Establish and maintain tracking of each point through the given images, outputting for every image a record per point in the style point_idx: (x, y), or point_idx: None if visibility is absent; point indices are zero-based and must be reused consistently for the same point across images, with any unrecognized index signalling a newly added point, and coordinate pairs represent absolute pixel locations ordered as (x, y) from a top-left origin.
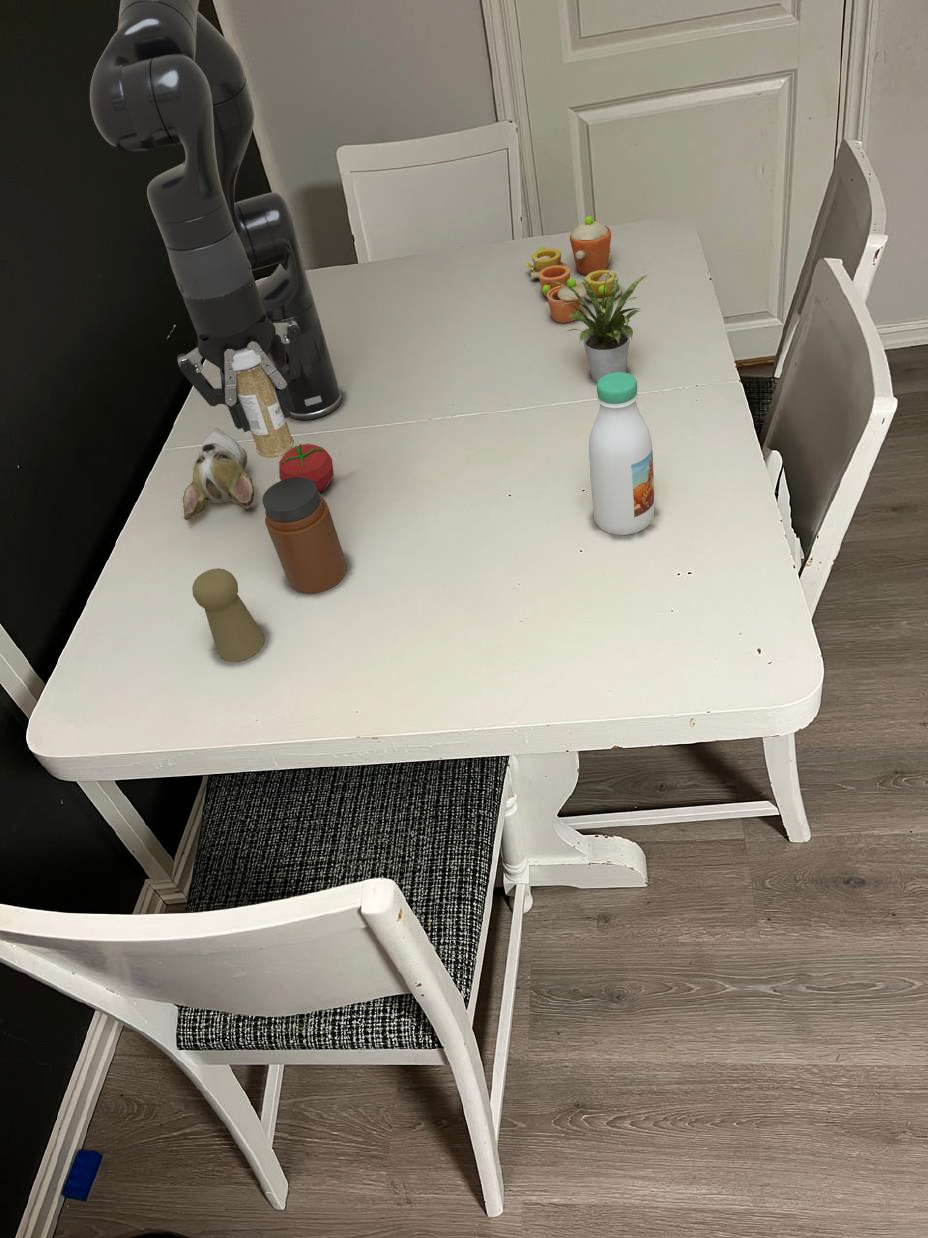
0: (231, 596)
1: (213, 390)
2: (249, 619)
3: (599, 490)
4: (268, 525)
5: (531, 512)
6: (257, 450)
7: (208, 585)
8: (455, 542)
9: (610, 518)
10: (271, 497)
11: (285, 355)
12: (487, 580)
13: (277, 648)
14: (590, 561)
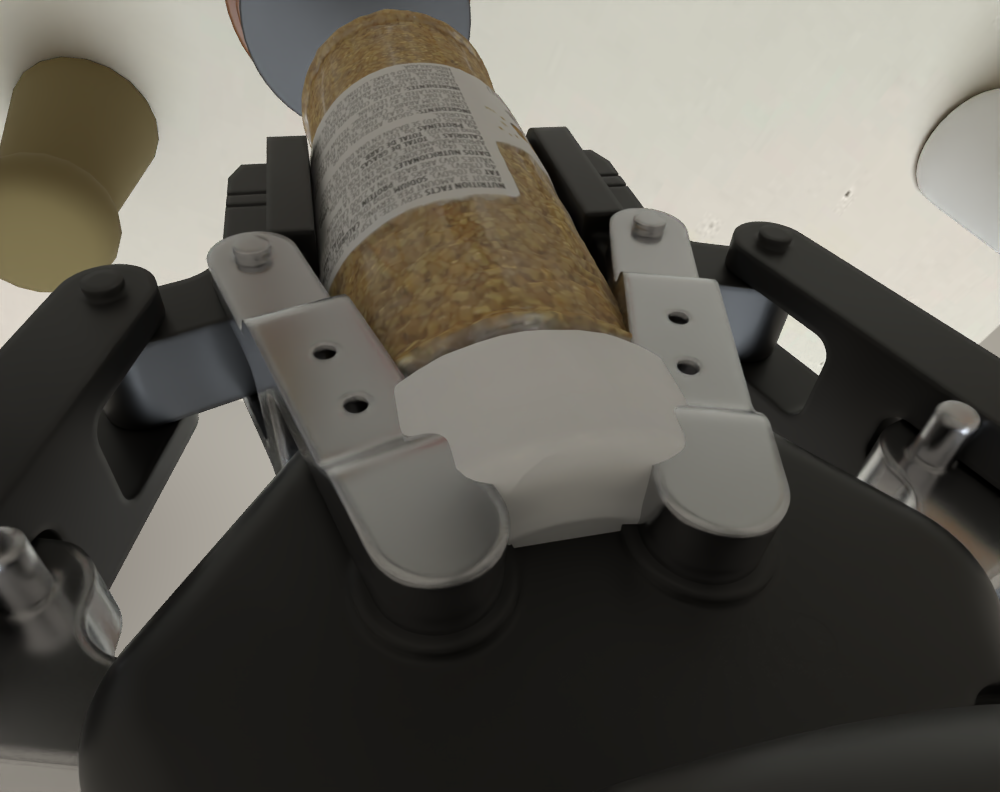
0: None
1: (157, 373)
2: (133, 184)
3: (984, 217)
4: (236, 14)
5: (887, 17)
6: (308, 136)
7: (32, 277)
8: (698, 25)
9: (940, 203)
10: (282, 6)
11: (800, 305)
12: (675, 189)
13: (194, 181)
14: (835, 226)
